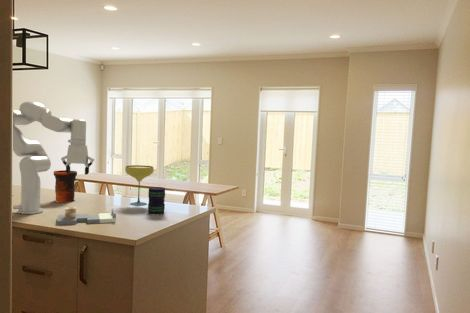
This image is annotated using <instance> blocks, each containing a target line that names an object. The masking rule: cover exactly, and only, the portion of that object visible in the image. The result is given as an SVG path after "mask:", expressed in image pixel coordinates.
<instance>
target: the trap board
mask: <svg viewBox="0 0 470 313" xmlns="http://www.w3.org/2000/svg"><path fill="white" fill-rule="evenodd" d="M78 223H87V224H104V223H117V213H116V211H115V209H114V208H111V212H105V213H104V212H103V213H101V212H100V213H98V214H93V215H90V214H89V213H80V214H79V213H76V218H69V219H65V214H58V215H57V221H56V225H57V226H63V225H64V226H65V225H77V224H78Z"/></svg>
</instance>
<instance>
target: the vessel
mask: <svg viewBox="0 0 470 313" xmlns="http://www.w3.org/2000/svg"><path fill="white" fill-rule="evenodd" d="M53 176H54V179H55V184H54V185H55V186H54V191H55V192H54V193H55V200H54V202H56V203H59V202H67V203H73V202H76V201H75V200H76V199H75V194H76V193H75V192H76V191H75V190H76V182H75V181H77V180H76V178H77V176H78V171H76V170H70V173H69V174H67V172H66V169H63V170H54V171H53Z"/></svg>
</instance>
